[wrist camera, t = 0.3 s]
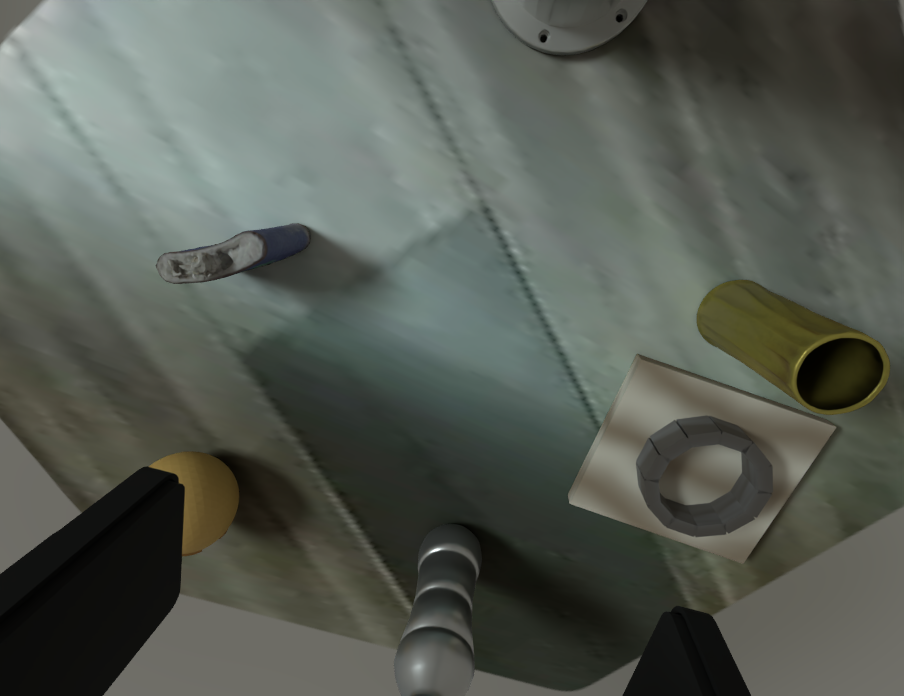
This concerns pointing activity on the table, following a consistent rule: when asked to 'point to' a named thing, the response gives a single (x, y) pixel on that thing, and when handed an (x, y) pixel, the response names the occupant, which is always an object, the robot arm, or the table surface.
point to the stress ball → (203, 497)
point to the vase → (794, 347)
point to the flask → (233, 254)
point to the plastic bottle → (441, 617)
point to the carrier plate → (696, 459)
